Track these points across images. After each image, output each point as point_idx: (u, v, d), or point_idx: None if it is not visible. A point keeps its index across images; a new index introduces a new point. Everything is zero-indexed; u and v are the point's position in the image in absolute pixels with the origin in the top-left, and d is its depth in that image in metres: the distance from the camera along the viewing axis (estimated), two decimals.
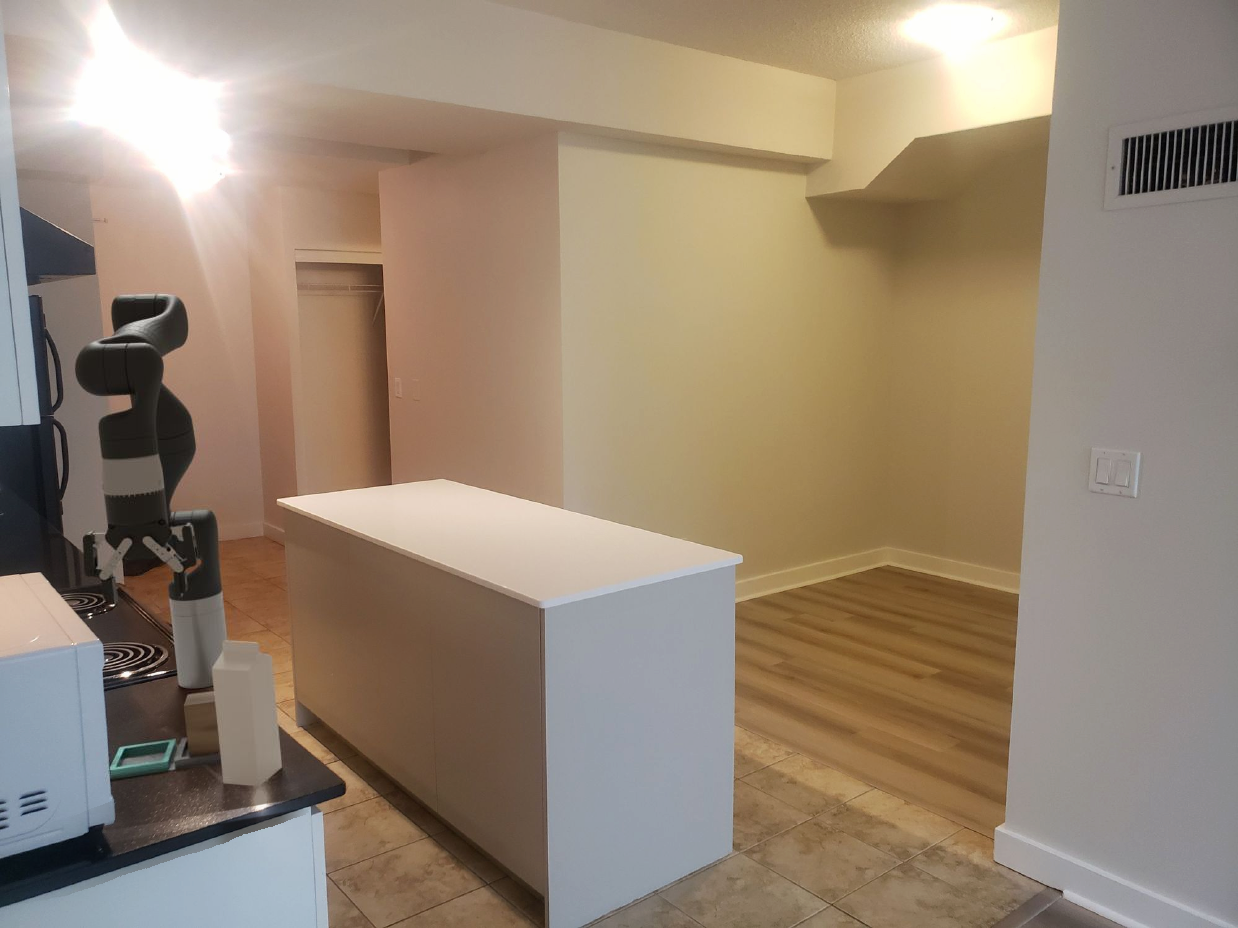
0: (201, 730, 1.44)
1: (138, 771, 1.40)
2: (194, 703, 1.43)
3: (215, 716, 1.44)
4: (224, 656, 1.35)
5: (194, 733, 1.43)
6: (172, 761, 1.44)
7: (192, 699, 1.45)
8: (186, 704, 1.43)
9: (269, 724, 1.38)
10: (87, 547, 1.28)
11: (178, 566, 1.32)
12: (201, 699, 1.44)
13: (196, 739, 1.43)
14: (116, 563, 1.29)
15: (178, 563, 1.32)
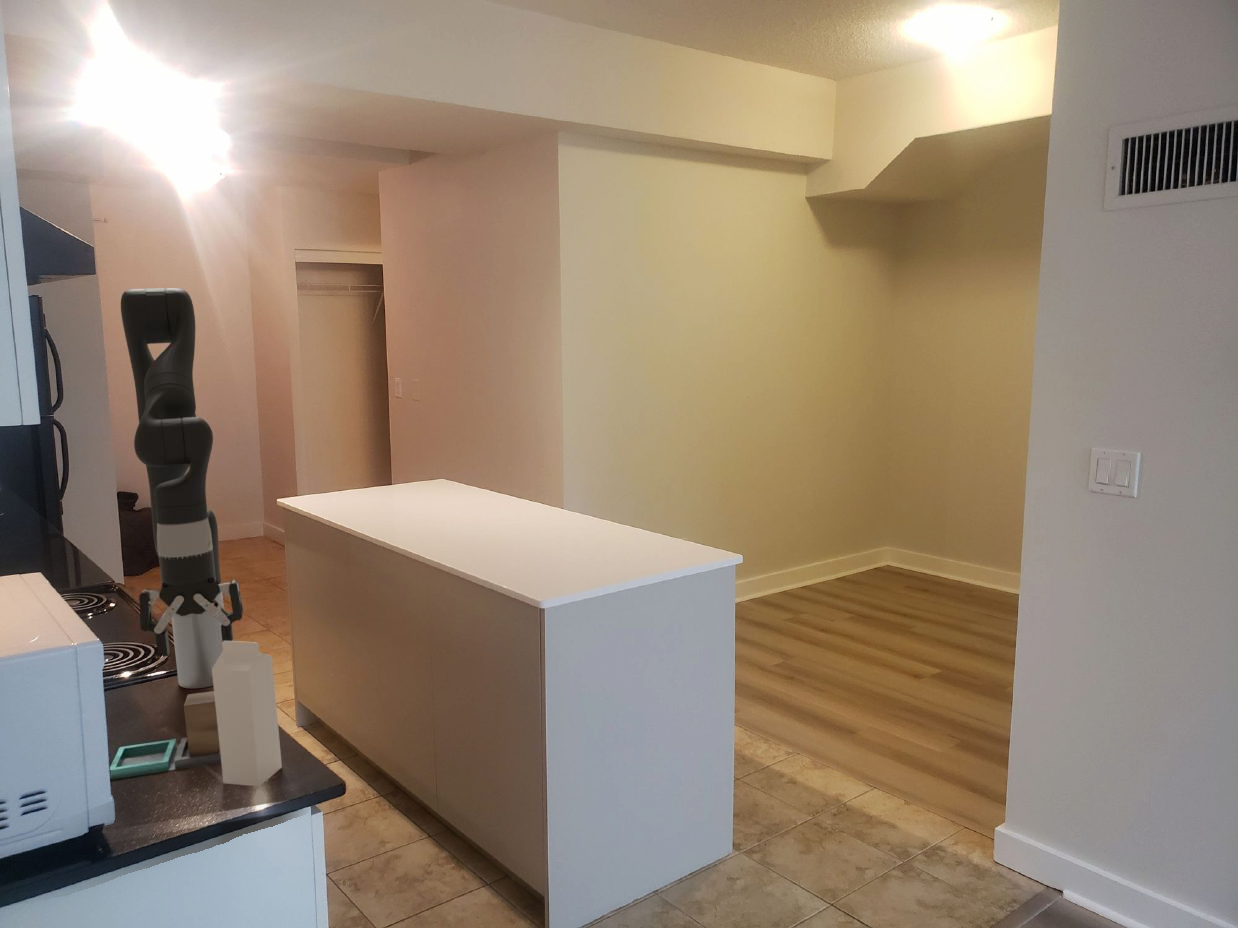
0: (201, 730, 1.44)
1: (138, 771, 1.40)
2: (194, 703, 1.43)
3: (215, 716, 1.44)
4: (224, 656, 1.35)
5: (194, 733, 1.43)
6: (172, 761, 1.44)
7: (192, 699, 1.45)
8: (186, 704, 1.43)
9: (269, 724, 1.38)
10: (143, 604, 1.39)
11: (225, 620, 1.43)
12: (201, 699, 1.44)
13: (196, 739, 1.43)
14: (169, 618, 1.40)
15: (225, 617, 1.43)
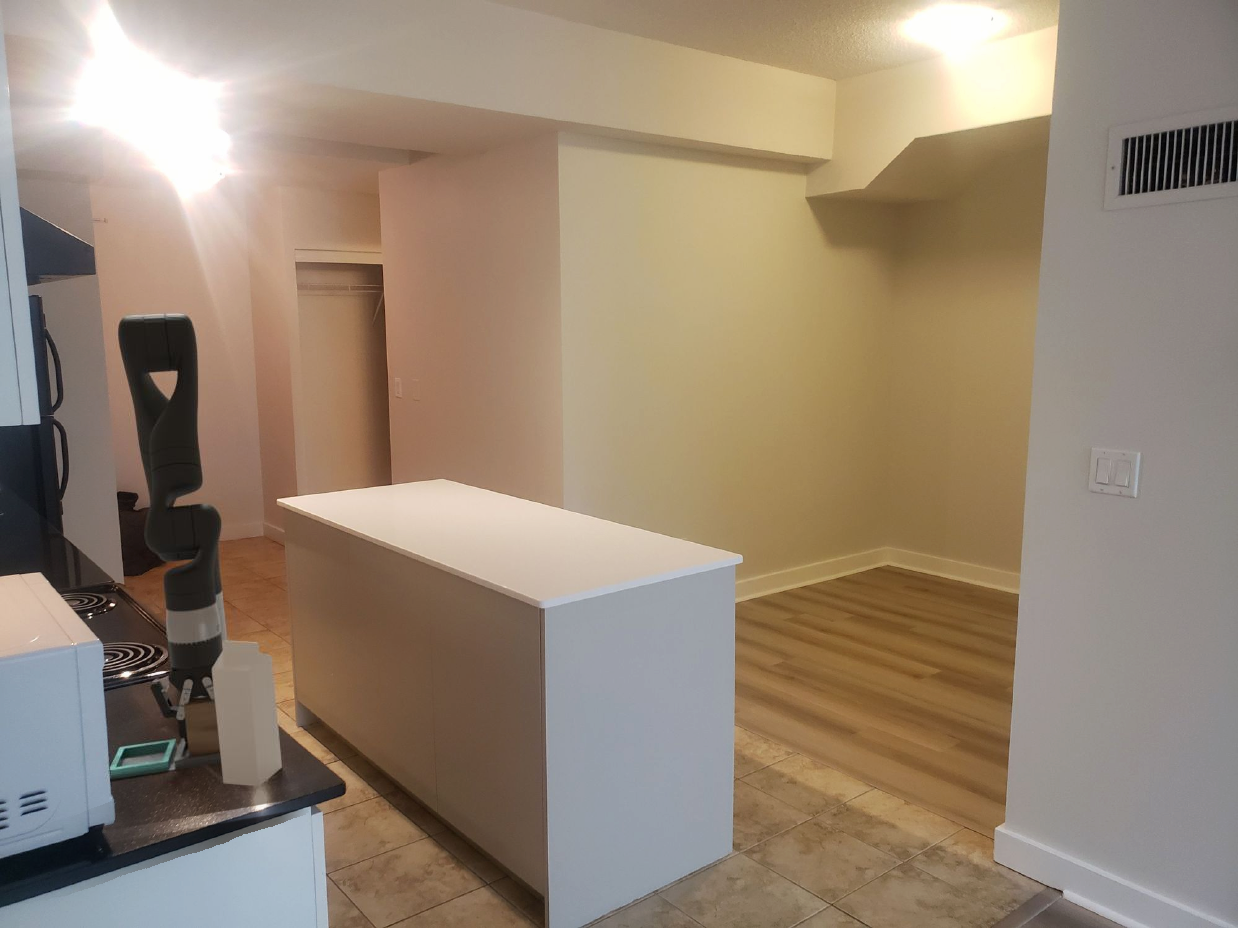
0: (201, 730, 1.44)
1: (138, 771, 1.40)
2: (194, 703, 1.43)
3: (215, 716, 1.44)
4: (224, 656, 1.35)
5: (194, 733, 1.43)
6: (172, 761, 1.44)
7: (192, 699, 1.45)
8: (186, 704, 1.43)
9: (269, 724, 1.38)
10: (157, 694, 1.42)
11: None
12: (201, 699, 1.44)
13: (196, 739, 1.43)
14: (186, 703, 1.43)
15: None
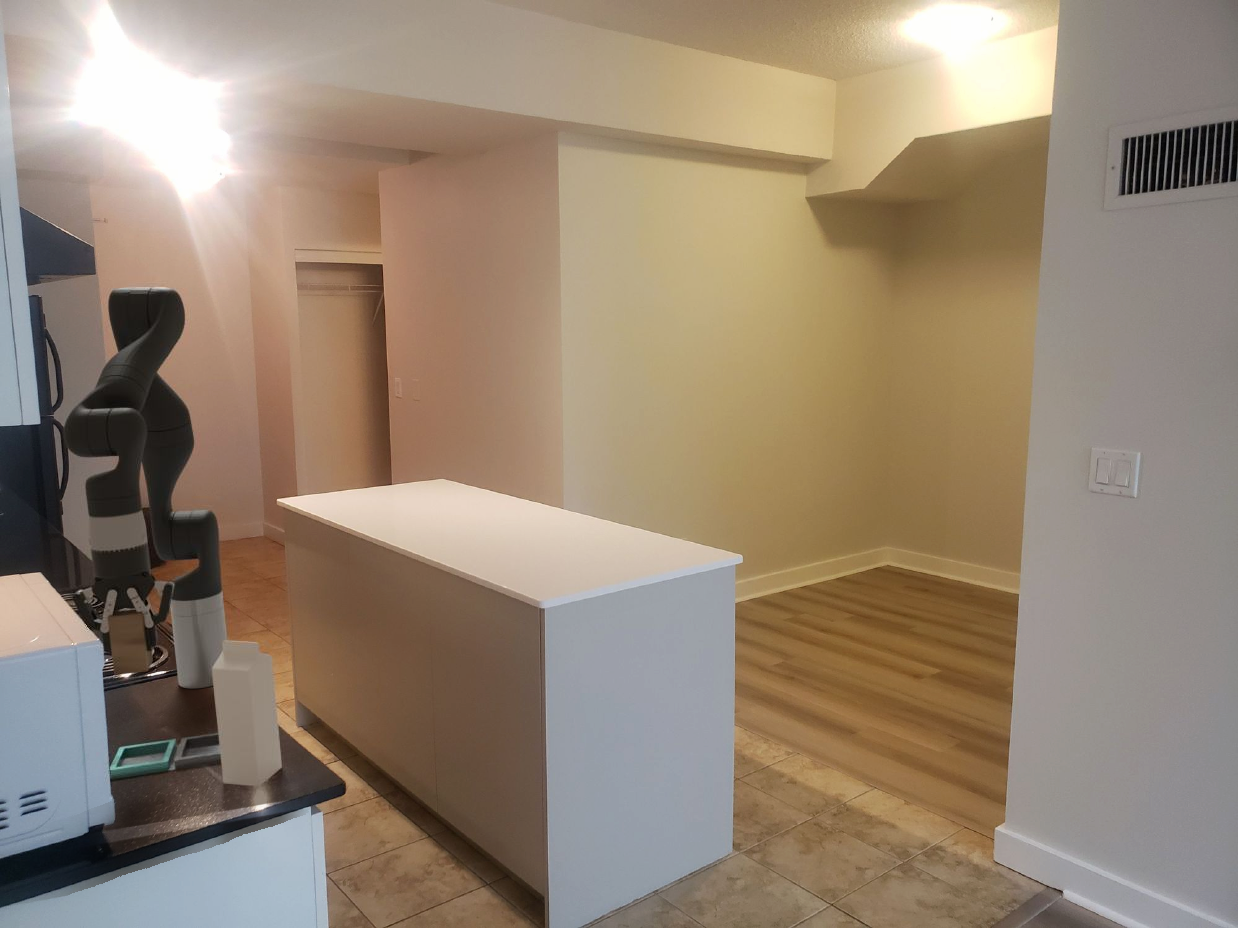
0: (126, 643, 1.38)
1: (138, 771, 1.40)
2: (118, 615, 1.38)
3: (141, 629, 1.39)
4: (224, 656, 1.35)
5: (119, 647, 1.38)
6: (172, 761, 1.44)
7: (117, 611, 1.40)
8: (110, 616, 1.38)
9: (269, 724, 1.38)
10: (80, 605, 1.37)
11: (148, 622, 1.40)
12: (127, 611, 1.39)
13: (121, 653, 1.38)
14: (110, 615, 1.38)
15: (150, 619, 1.40)
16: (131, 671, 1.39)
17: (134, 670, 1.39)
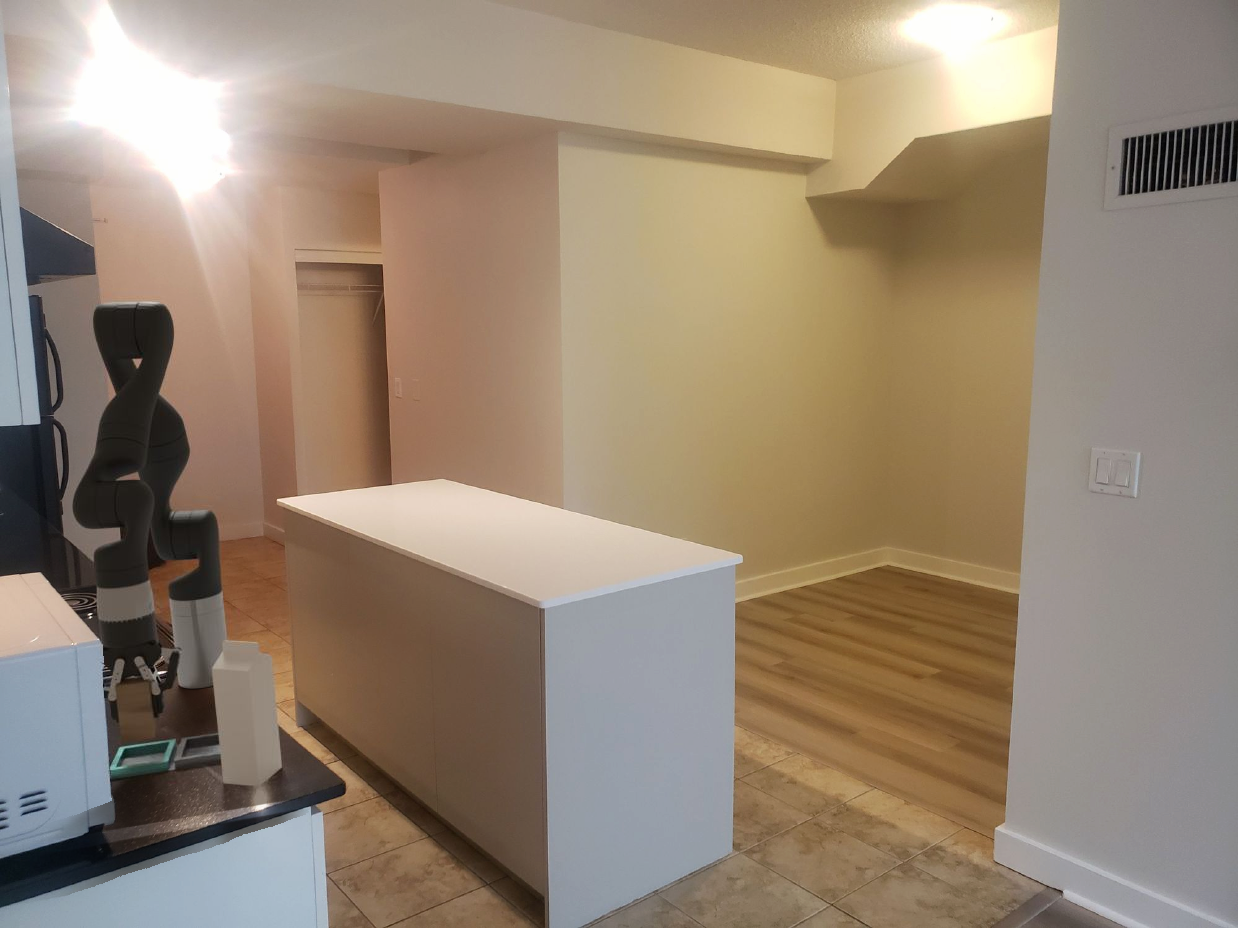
0: (133, 711, 1.40)
1: (138, 771, 1.40)
2: (126, 683, 1.39)
3: (148, 697, 1.40)
4: (224, 656, 1.35)
5: (126, 715, 1.40)
6: (172, 761, 1.44)
7: (124, 679, 1.41)
8: (118, 684, 1.39)
9: (269, 724, 1.38)
10: None
11: (155, 689, 1.42)
12: (134, 679, 1.41)
13: (128, 721, 1.40)
14: (118, 683, 1.39)
15: (157, 686, 1.42)
16: (138, 738, 1.41)
17: (141, 737, 1.41)
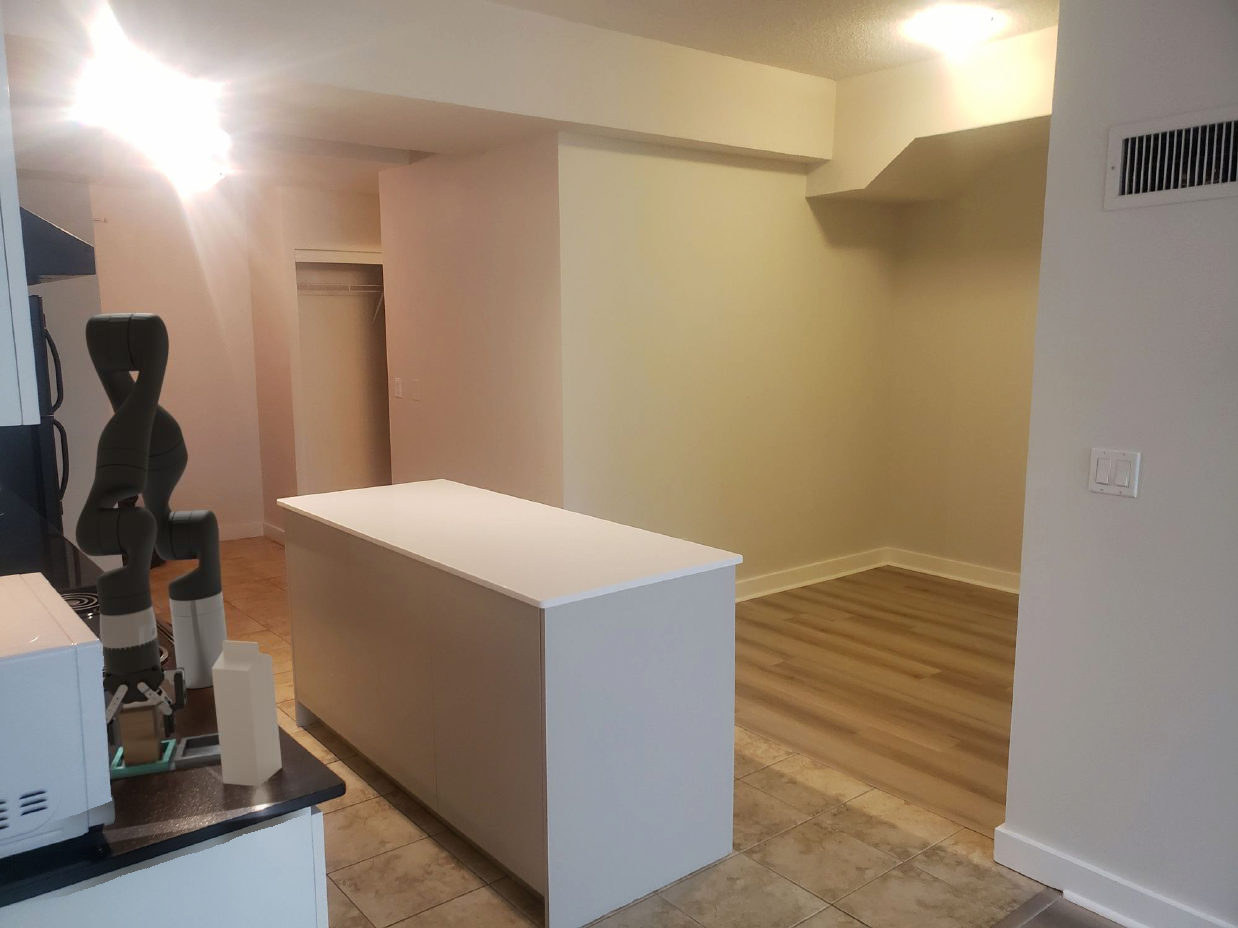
0: (137, 739, 1.41)
1: (138, 771, 1.40)
2: (129, 712, 1.40)
3: (151, 725, 1.41)
4: (224, 656, 1.35)
5: (129, 743, 1.41)
6: (172, 761, 1.44)
7: (128, 707, 1.42)
8: (121, 713, 1.40)
9: (269, 724, 1.38)
10: None
11: (167, 709, 1.43)
12: (138, 707, 1.42)
13: (131, 749, 1.41)
14: (115, 708, 1.40)
15: (168, 707, 1.43)
16: None
17: None
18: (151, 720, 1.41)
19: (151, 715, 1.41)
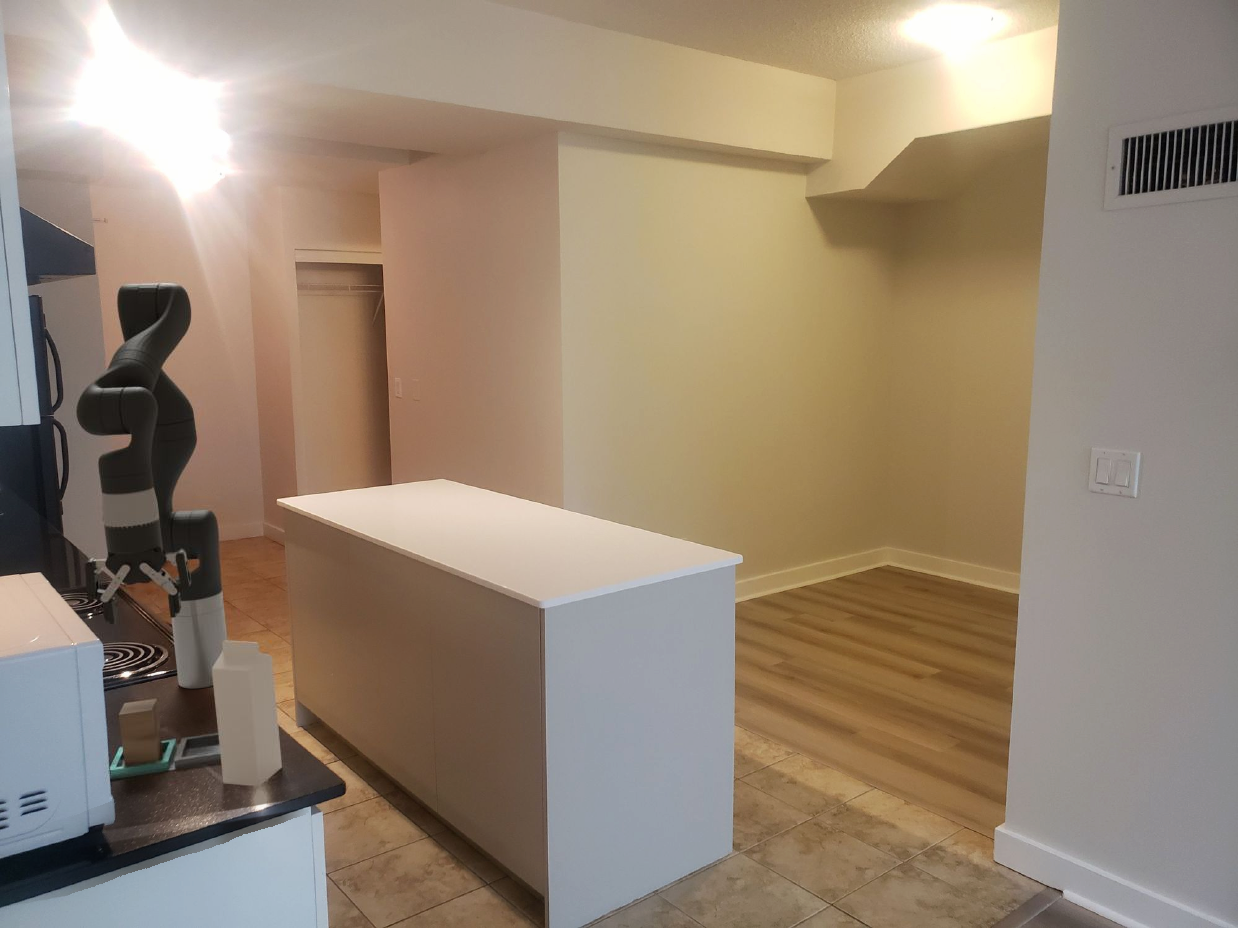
0: (137, 739, 1.41)
1: (138, 771, 1.40)
2: (129, 712, 1.40)
3: (151, 725, 1.41)
4: (224, 656, 1.35)
5: (129, 743, 1.41)
6: (172, 761, 1.44)
7: (128, 707, 1.42)
8: (121, 713, 1.40)
9: (269, 724, 1.38)
10: (89, 573, 1.40)
11: (172, 589, 1.44)
12: (138, 707, 1.42)
13: (131, 749, 1.41)
14: (115, 587, 1.41)
15: (172, 586, 1.44)
16: None
17: None
18: (151, 720, 1.41)
19: (151, 715, 1.41)
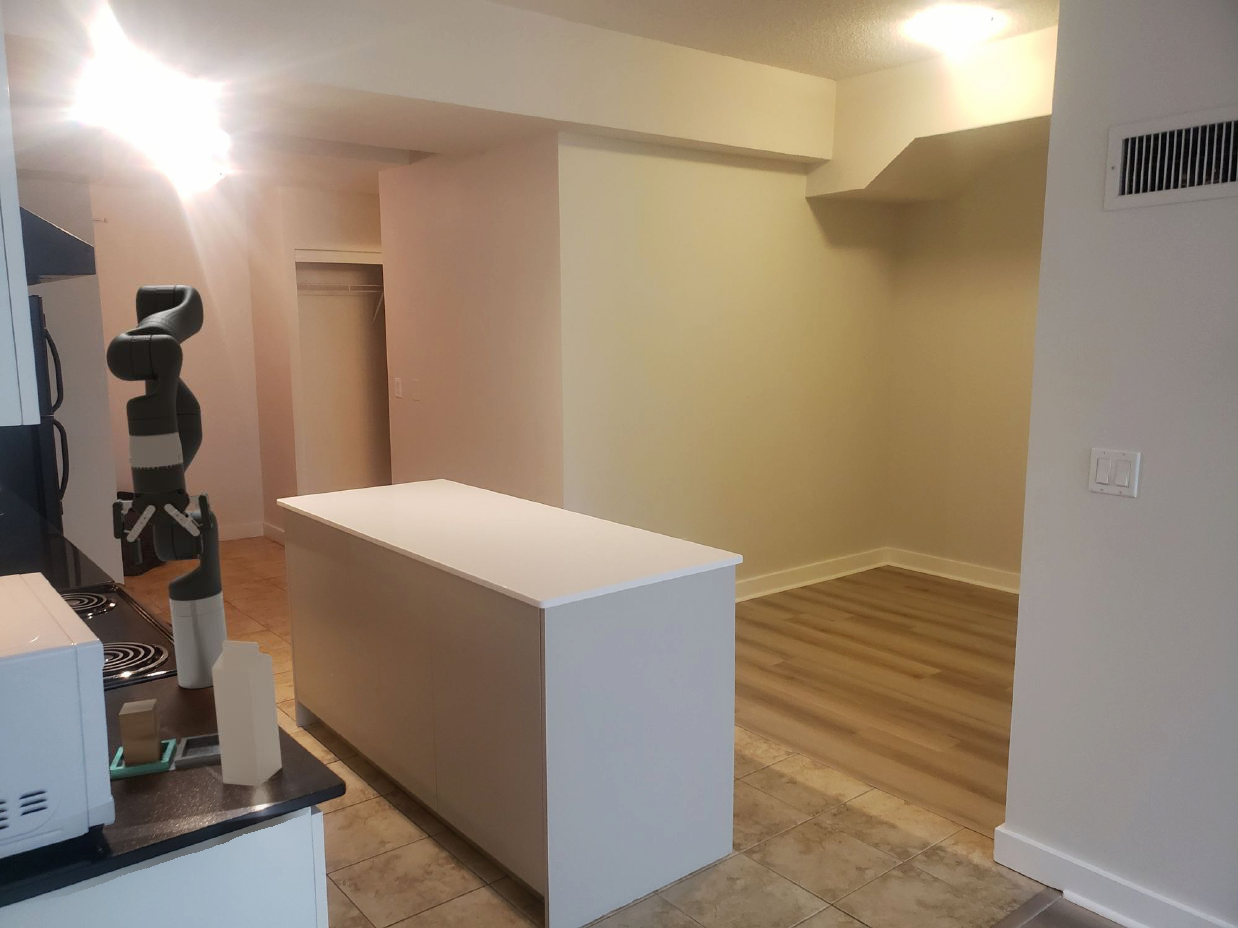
0: (137, 739, 1.41)
1: (138, 771, 1.40)
2: (129, 712, 1.40)
3: (151, 725, 1.41)
4: (224, 656, 1.35)
5: (129, 743, 1.41)
6: (172, 761, 1.44)
7: (128, 707, 1.42)
8: (121, 713, 1.40)
9: (269, 724, 1.38)
10: (116, 513, 1.46)
11: (195, 530, 1.50)
12: (138, 707, 1.42)
13: (131, 749, 1.41)
14: (141, 527, 1.47)
15: (195, 528, 1.50)
16: None
17: None
18: (151, 720, 1.41)
19: (151, 715, 1.41)
